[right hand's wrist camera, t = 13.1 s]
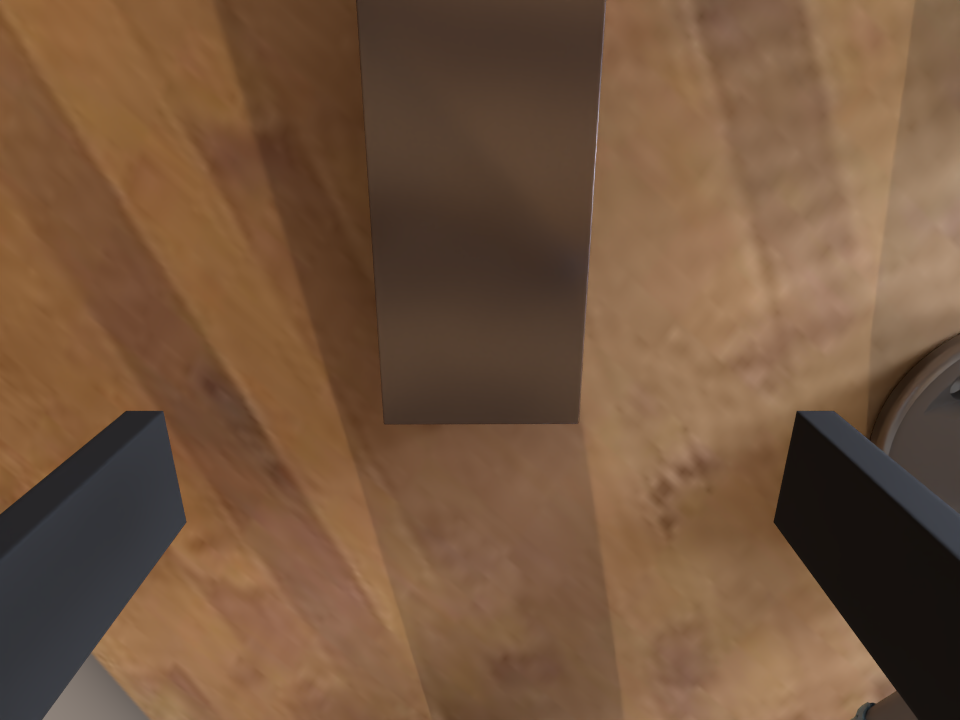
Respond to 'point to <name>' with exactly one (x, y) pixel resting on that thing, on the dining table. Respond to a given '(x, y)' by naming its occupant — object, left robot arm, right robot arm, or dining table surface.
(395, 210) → the wide beam
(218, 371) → the dining table surface
